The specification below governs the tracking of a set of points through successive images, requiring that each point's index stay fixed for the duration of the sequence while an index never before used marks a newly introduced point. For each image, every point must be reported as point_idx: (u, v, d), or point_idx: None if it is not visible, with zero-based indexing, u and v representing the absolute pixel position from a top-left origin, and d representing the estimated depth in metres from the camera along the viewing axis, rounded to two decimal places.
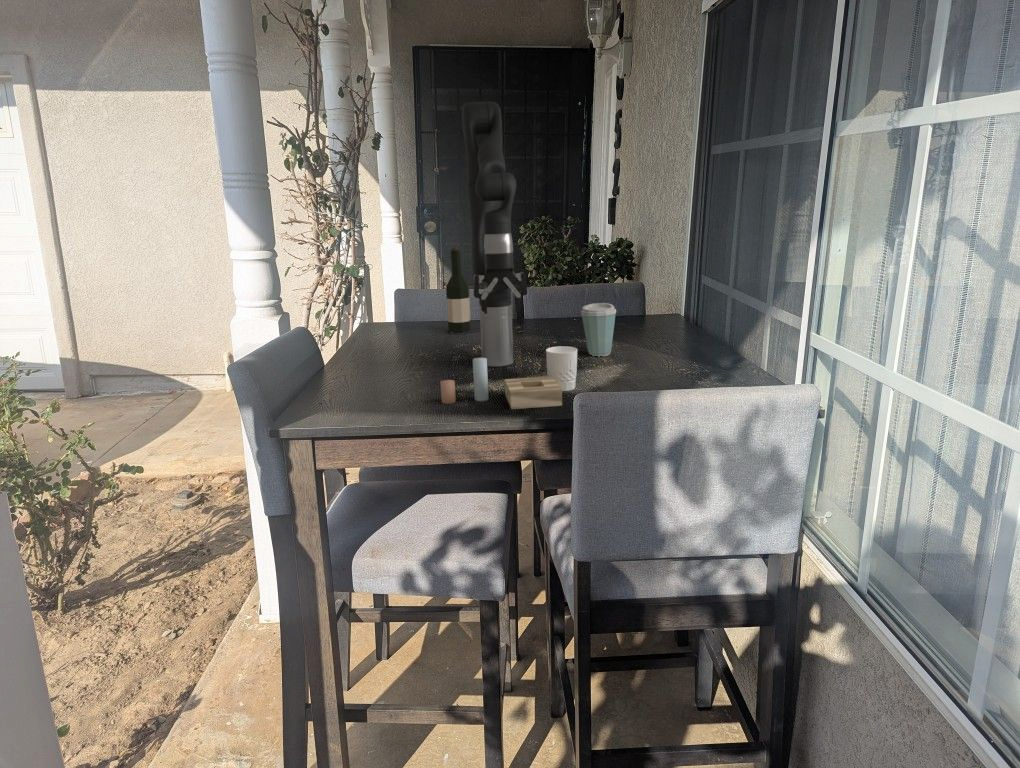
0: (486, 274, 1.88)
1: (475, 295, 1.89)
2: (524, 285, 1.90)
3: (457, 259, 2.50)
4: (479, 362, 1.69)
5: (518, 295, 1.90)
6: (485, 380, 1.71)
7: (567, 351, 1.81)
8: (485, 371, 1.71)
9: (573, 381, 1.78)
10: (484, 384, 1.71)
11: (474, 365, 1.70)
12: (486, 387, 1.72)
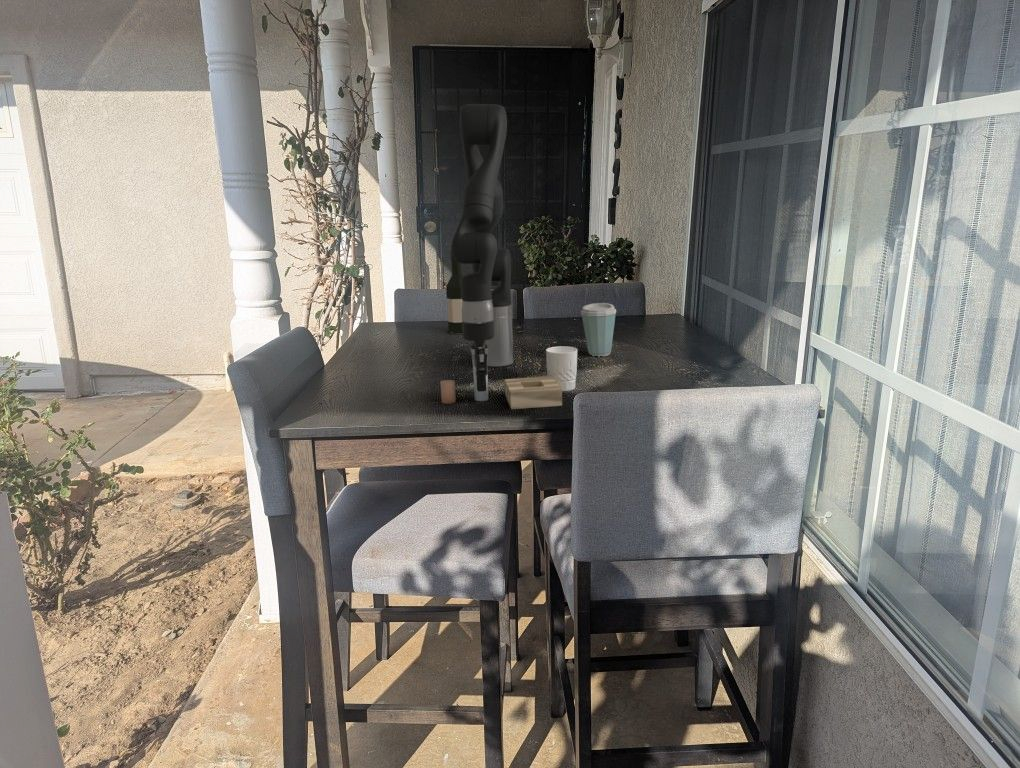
0: (484, 347, 1.66)
1: (487, 373, 1.67)
2: None
3: None
4: None
5: None
6: None
7: (567, 351, 1.81)
8: None
9: (573, 381, 1.78)
10: None
11: None
12: (486, 387, 1.72)
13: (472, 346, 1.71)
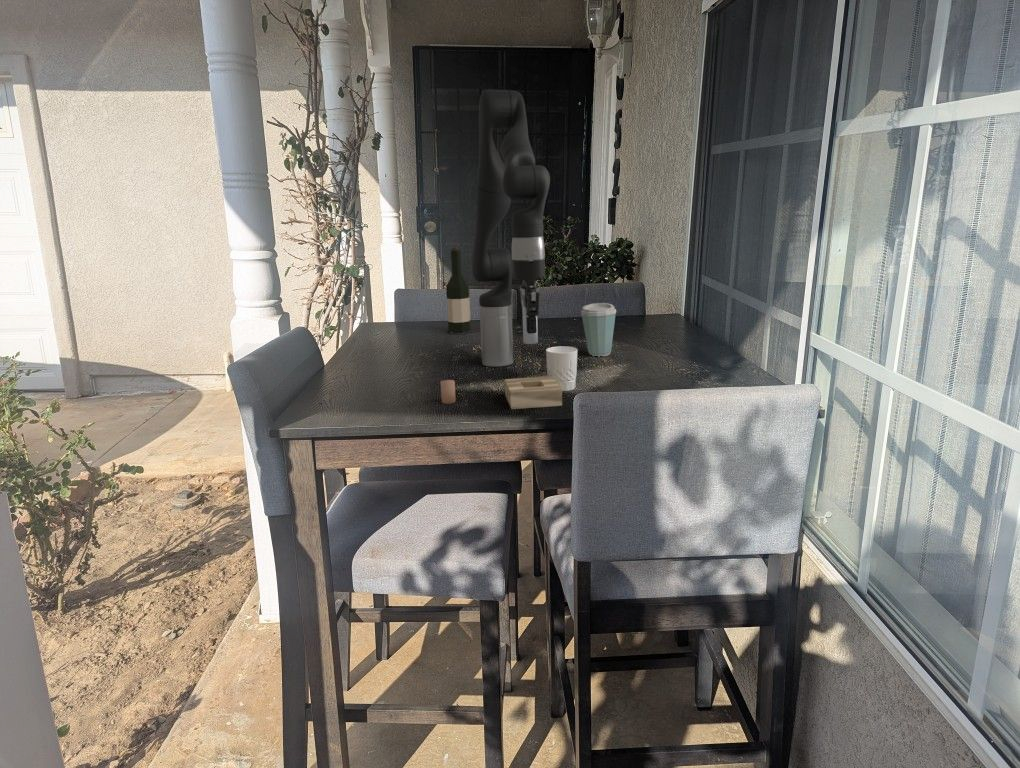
0: (535, 285, 1.60)
1: (538, 313, 1.61)
2: None
3: (457, 259, 2.50)
4: None
5: None
6: None
7: (567, 351, 1.82)
8: None
9: (573, 381, 1.78)
10: None
11: None
12: None
13: (522, 286, 1.65)
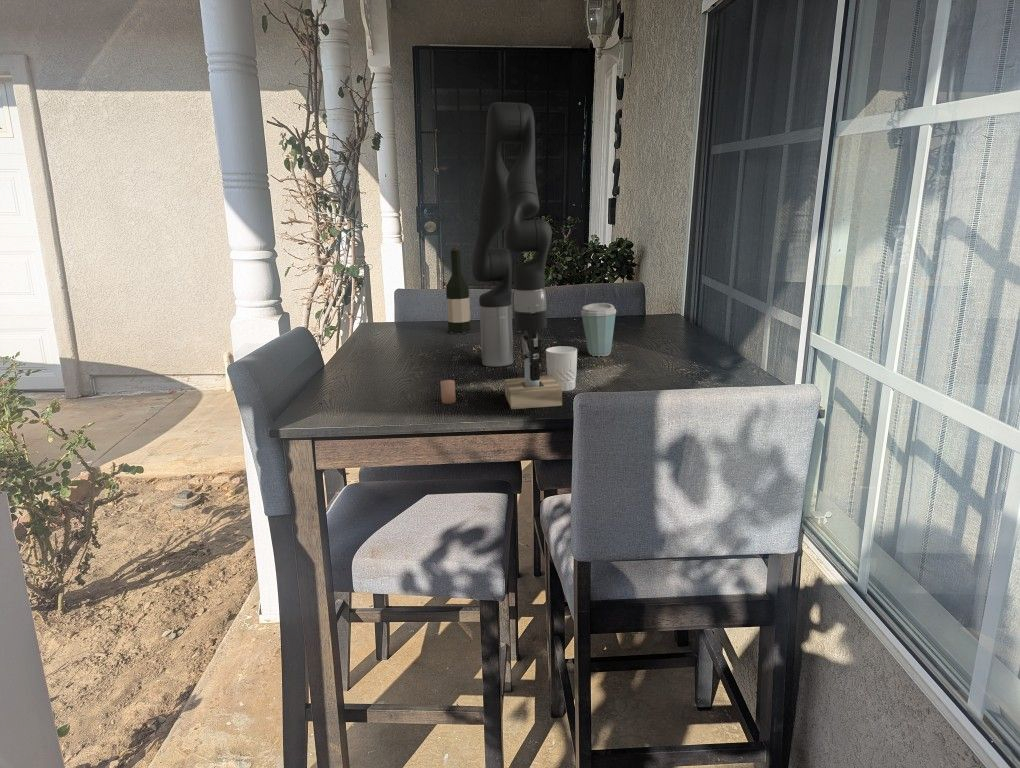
0: (537, 335, 1.63)
1: (541, 361, 1.62)
2: None
3: (457, 259, 2.50)
4: None
5: None
6: (537, 381, 1.69)
7: (567, 351, 1.81)
8: None
9: (573, 381, 1.78)
10: (536, 384, 1.69)
11: (526, 365, 1.68)
12: None
13: (524, 337, 1.68)
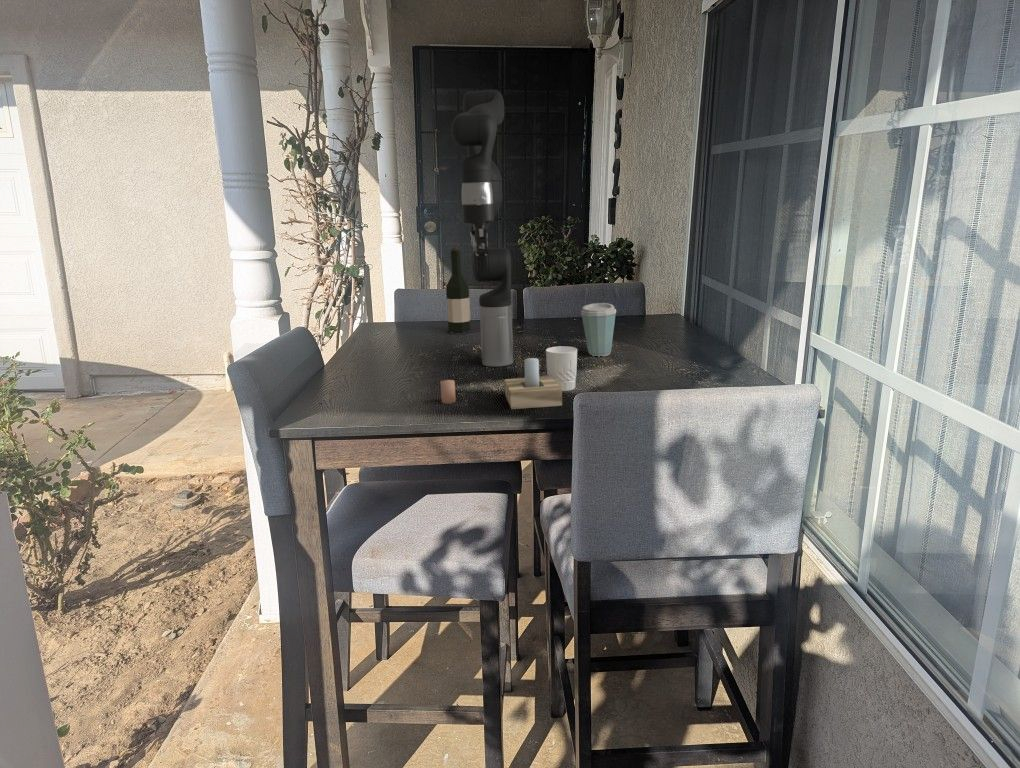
0: (483, 227, 1.69)
1: (487, 251, 1.68)
2: None
3: (457, 259, 2.50)
4: (531, 362, 1.67)
5: None
6: (537, 381, 1.69)
7: (567, 351, 1.82)
8: (537, 372, 1.68)
9: (573, 381, 1.78)
10: (536, 384, 1.69)
11: (526, 366, 1.68)
12: None
13: None
